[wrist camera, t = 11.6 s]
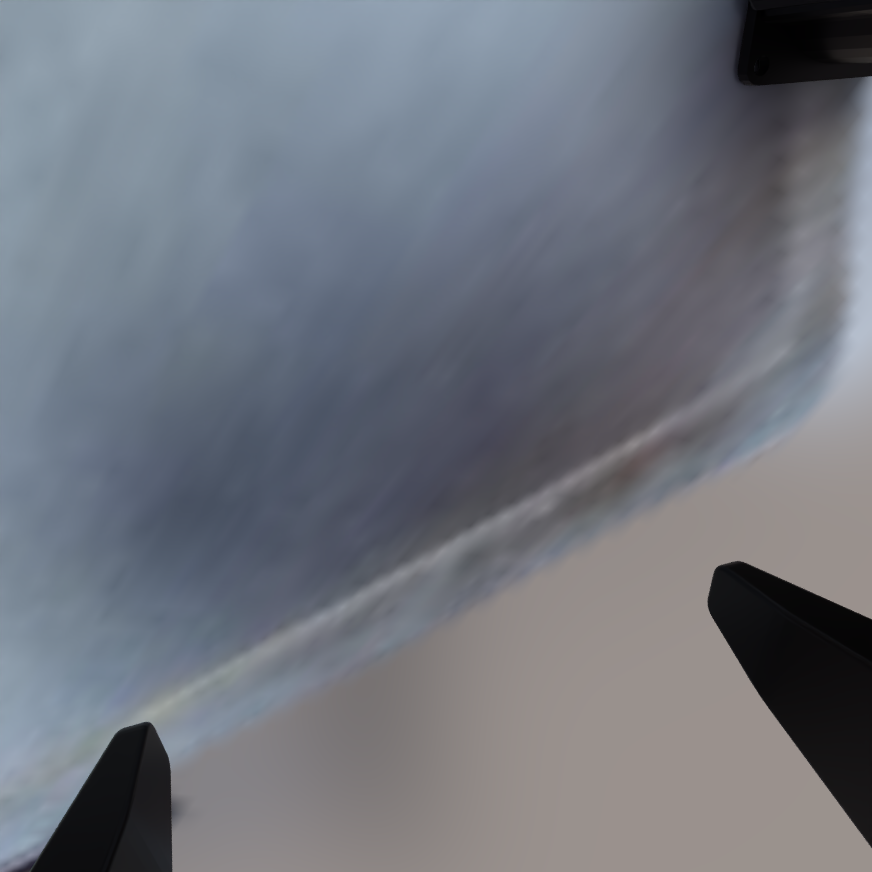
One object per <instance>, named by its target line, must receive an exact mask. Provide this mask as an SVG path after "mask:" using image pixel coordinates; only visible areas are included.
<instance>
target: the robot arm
mask: <svg viewBox="0 0 872 872" xmlns="http://www.w3.org/2000/svg"><path fill="white" fill-rule="evenodd" d="M758 59H759V60H760V66H759V69H758V71H757V72H756V73H755V72H754V66H755V63H756V61H757V60H758ZM867 76H872V0H749V4H748V10H747V16H746V22H745V28H744V34H743V40H742V46H741V52H740V58H739V64H738V77H739V80H740V81H741V82H742V83H743V84H744V85H755V86H759V85H771V84H783V83H795V82H807V81H819V80H831V79H843V78H855V77H867ZM708 608H709V611H710V614H711V616H712V618H713V619H714V621H715V623H716V624H717V626H718V628H719V629H720V631H721V633H722V634H723V636H724V638H725V639H726V641H727V643H728V644H729V646H730V648H731V649H732V651H733V653H734V654H735V656H736V658H737V659H738V661H739V663H740V664H741V666H742V668H743V669H744V671H745V672H746V674H747V676H748V678H749V679H750V681H751V683H752V684H753V685H754V687H755V689H756V690H757V692H758V693H759V695H760V696H761V698H762V699H763V701H764V702H765V703H766V705H767V706H768V708H769V709H770V711H771V712H772V713H773V715H774V716H775V717H776V719H777V720H778V721H779V723H780V724H781V726H782V727H783V728H784V730H785V731H786V732H787V734H788V735H789V736H790V738H791V739H792V740H793V742H794V743H795V744H796V746H797V747H798V748H799V750H800V751H801V753H802V754H803V755H804V757H805V758H806V759H807V761H808V762H809V764H810V765H811V766H812V768H813V769H814V770H815V772H816V773H817V774H818V776H819V777H820V778H821V780H822V781H823V782H824V784H825V785H826V786H827V788H828V789H829V791H830V792H831V793H832V795H833V796H834V797H835V799H836V800H837V801H838V803H839V804H840V806H841V807H842V808H843V809H844V811H845V812H846V814H847V815H848V816H849V818H850V819H851V821H852V822H853V823H854V825H855V826H856V827H857V829H858V830H859V831H860V833H861V834H862V835H863V837H864V838H865V839H866V841H867V842H868V843H869V845H870V846H871V848H872V619H870V618H868V617H865V616H863V615H861V614H859V613H856V612H854V611H852V610H850V609H847V608H845V607H843V606H841V605H839V604H836V603H834V602H832V601H830V600H827V599H825V598H823V597H821V596H818V595H816V594H814V593H812V592H810V591H807V590H805V589H803V588H801V587H798V586H796V585H794V584H792V583H789V582H787V581H785V580H782V579H780V578H778V577H776V576H774V575H772V574H769V573H767V572H765V571H763V570H760V569H758V568H756V567H754V566H751V565H749V564H747V563H744V562H741V561H735V562H731V563H727V564H723V565H720V566H718V567H717V568H716V569H715V571H714V574H713V578H712V583H711V587H710V591H709V596H708ZM30 872H172V824H171V770H170V763H169V758H168V755H167V753H166V751H165V749H164V746H163V744H162V742H161V740H160V738H159V736H158V734H157V732H156V730H155V728H154V726H153V725H152V724H151V723H149V722H144V723H140V724H136V725H133V726H129V727H125V728H123V729H121V730H119V731H118V732H117V733H116V734H115V735H114V737H113V738H112V740H111V742H110V743H109V745H108V746H107V748H106V750H105V751H104V753H103V754H102V756H101V758H100V759H99V761H98V762H97V764H96V766H95V767H94V769H93V770H92V772H91V774H90V775H89V777H88V779H87V780H86V782H85V783H84V785H83V787H82V788H81V790H80V791H79V793H78V795H77V796H76V798H75V799H74V801H73V803H72V804H71V806H70V807H69V809H68V811H67V812H66V814H65V815H64V817H63V819H62V820H61V822H60V823H59V825H58V827H57V828H56V830H55V832H54V833H53V835H52V836H51V838H50V840H49V841H48V843H47V844H46V846H45V848H44V849H43V851H42V852H41V854H40V856H39V857H38V859H37V860H36V862H35V864H34V865H33V867H32V868H31V870H30Z"/></svg>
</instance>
